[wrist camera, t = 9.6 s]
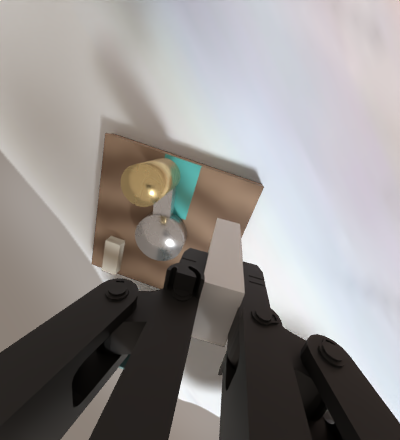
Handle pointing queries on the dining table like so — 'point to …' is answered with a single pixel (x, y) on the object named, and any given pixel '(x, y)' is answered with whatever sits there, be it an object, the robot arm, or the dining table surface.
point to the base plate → (183, 207)
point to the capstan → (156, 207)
